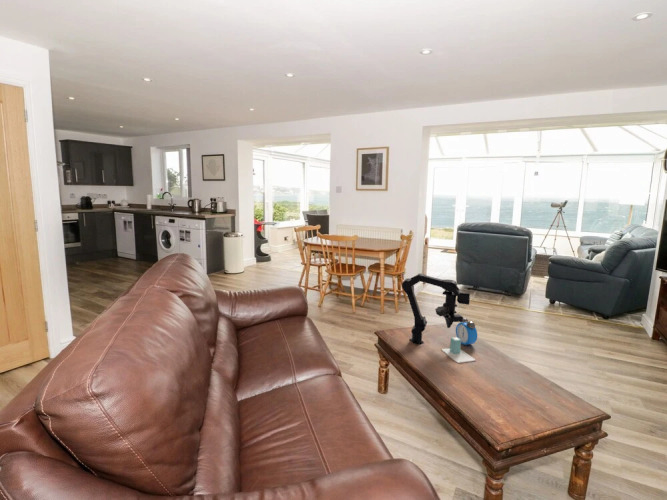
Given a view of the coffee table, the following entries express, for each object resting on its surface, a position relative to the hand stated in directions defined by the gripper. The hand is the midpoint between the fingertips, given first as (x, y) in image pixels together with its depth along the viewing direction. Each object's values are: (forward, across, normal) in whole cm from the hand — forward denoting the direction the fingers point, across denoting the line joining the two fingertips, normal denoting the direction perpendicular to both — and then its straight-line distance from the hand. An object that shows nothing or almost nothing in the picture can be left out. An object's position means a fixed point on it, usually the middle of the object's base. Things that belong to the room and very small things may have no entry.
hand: (448, 327), depth 210 cm
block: (+11, +8, 0) cm, 14 cm away
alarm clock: (+12, -2, +14) cm, 18 cm away
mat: (+12, +11, 0) cm, 16 cm away
